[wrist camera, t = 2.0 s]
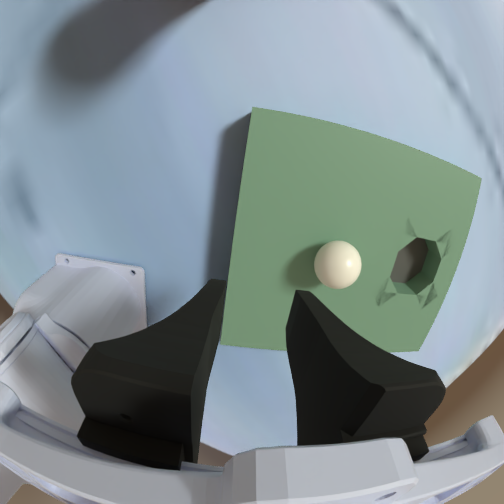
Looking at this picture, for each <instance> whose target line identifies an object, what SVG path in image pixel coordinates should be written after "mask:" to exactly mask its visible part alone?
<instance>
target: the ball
mask: <svg viewBox="0 0 504 504" xmlns="http://www.w3.org/2000/svg"><path fill="white" fill-rule="evenodd" d="M361 266H362V263H361V258H360V255H359V253H358V251H357V250H356V248H355V247H354V246H352V245H351V244H349V243H347V242H345V241H331V242H329V243H327V244H325V245H324V246H322V247H321V248H320V250H319V251H318V252H317V254H316V257H315V261H314V269H315V273H316V276H317V277H318V279H319V280H320V281H321V282H322V283H323V284H324V285H325V286H327V287H329V288H333V289H342V288H346V287H348V286H350V285H351V284H353V283H354V282H355V281H356V280H357V278H358V276H359V275H360V272H361Z"/></svg>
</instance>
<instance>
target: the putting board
mask: <svg viewBox="0 0 504 504" xmlns="http://www.w3.org/2000/svg"><path fill="white" fill-rule="evenodd" d="M481 179H482V178H480V177H478V176H476V175H474V174H472V173H470V172H468V171H466V170H464V169H462V168H459V167H457V166H455V165H453V164H451V163H449V162H446V161H444V160H442V159H439V158H437V157H435V156H432V155H430V154H427V153H425V152H422V151H420V150H417V149H415V148H412V147H409V146H407V145H404V144H401V143H398V142H396V141H393V140H390V139H387V138H384V137H381V136H378V135H375V134H371V133H368V132H365V131H361V130H358V129H354V128H351V127H347V126H344V125H340V124H336V123H332V122H328V121H324V120H320V119H315V118H311V117H306V116H301V115H296V114H291V113H286V112H281V111H275V110H269V109H263V108H256V107H252V113H251V119H250V126H249V132H248V139H247V145H246V152H245V158H244V165H243V172H242V179H241V186H240V193H239V200H238V207H237V214H236V222H235V229H234V236H233V244H232V252H231V259H230V267H229V275H228V283H227V291H226V299H225V308H224V316H223V325H222V333H221V342H220V344H221V345H230V346H239V347H248V348H259V349H271V350H284V351H287V348H286V329H285V328H286V324H287V321H288V317H289V313H290V309H291V306H292V302H293V298H294V294H295V290H304V291H310V292H311V293H313V294H314V295H315V296H316V297H317V298H318V299H319V300H320V301H321V302H322V303H323V304H324V305H325V306H326V307H327V308H328V309H329V310H330V311H331V312H332V313H334V314H335V315H336V316H337V317H338V318H339V319H340V320H341V321H342V322H344V323H345V324H346V325H347V326H349V327H350V328H351V329H352V330H354V331H355V332H356V333H358V334H359V335H360V336H362V337H363V338H365V339H366V340H368V341H369V342H371V343H372V344H374V345H376V346H377V347H379V348H381V349H383V350H385V351H387V352H410V351H419V349H420V347H421V346H422V344H423V342H424V340H425V338H426V336H427V334H428V332H429V330H430V328H431V326H432V324H433V322H434V320H435V318H436V316H437V314H438V312H439V310H440V308H441V305H442V303H443V301H444V299H445V296H446V294H447V292H448V289H449V287H450V284H451V282H452V279H453V277H454V274H455V271H456V269H457V266H458V263H459V260H460V258H461V255H462V252H463V249H464V246H465V243H466V239H467V236H468V233H469V229H470V226H471V222H472V219H473V215H474V211H475V207H476V203H477V198H478V194H479V189H480V184H481ZM331 241H345V242H347V243H349V244H351V245H352V246H354V247H355V248H356V250H357V251H358V253H359V255H360V258H361V263H362V266H361V272H360V275H359V276H358V278H357V280H356V281H355V282H354V283H353V284H351V285H350V286H348V287H346V288H342V289H333V288H329V287H327V286H325V285H324V284H323V283H322V282H321V281H320V280H319V279H318V277H317V276H316V273H315V269H314V261H315V257H316V254H317V252H318V251H319V250H320V248H321V247H322V246H324V245H325V244H327V243H329V242H331Z"/></svg>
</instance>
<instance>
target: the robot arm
mask: <svg viewBox="0 0 504 504" xmlns="http://www.w3.org/2000/svg"><path fill="white" fill-rule="evenodd" d="M67 259H68V260H69V262H68V261H67ZM55 260H56V265H55V266H54V267H52V268H51V269H50V270H49V271H48V272H46V273H45V274H44V275H43V276H41V277H40V278H39V279H38V280H37V281H35V282H34V283H33V284H32V285H31V286H30V287H28V288H27V289H26V290H25V291H24V292H23V293H22V294H21V296H20V297H19V299H18V301H17V303H16V305H15V308H14V311H13V315H12V316H11V317H10V318H8V319H7V320H6V321H5V322H4V323H3V324H2V325H1V326H0V504H6V503H7V502H8V501H9V500H10V499H11V497H12V496H13V495H14V494H15V493H16V491H17V490H18V489H19V488H20V487H21V485H22V484H32V485H34V486H35V487H37V488H38V489H40V490H42V491H43V492H45V493H47V494H49V495H51V496H52V497H54V498H56V499H58V500H59V501H61V502H63V503H65V504H443V503H445V502H447V501H449V500H451V499H453V498H455V497H457V496H458V495H460V494H462V493H464V492H466V491H467V490H469V489H471V488H473V487H474V486H475V485H477V484H478V483H480V482H481V481H483V480H484V479H485V478H487V477H488V476H489V475H491V474H492V473H493V472H494V471H496V470H497V469H498V468H499V467H500V466H502V465H503V464H504V434H503V432H502V430H501V429H500V427H499V425H498V423H497V422H496V420H495V418H494V417H493V415H491V416H489V417H487V418H484V419H482V420H480V421H478V422H476V423H475V424H473V425H472V426H471V427H470V428H469V429H468V430H467V431H466V433H465V434H464V435H462V436H460V437H457V438H454V439H451V440H449V441H446V442H443V443H440V444H437V445H434V446H431V447H427V444H426V442H425V439H424V437H423V435H424V434H425V433H426V427H425V425H424V423H425V422H426V421H427V419H428V418H429V417H430V416H431V415H432V414H433V412H434V411H435V410H436V409H437V408H438V406H439V405H440V403H441V402H442V400H443V398H444V395H445V391H446V387H445V386H444V384H443V382H442V381H441V379H440V377H439V376H438V374H437V372H436V371H435V370H432V369H429V368H426V367H423V366H420V365H417V364H414V363H411V362H408V361H406V360H404V359H401V358H399V357H397V356H395V355H393V354H390V353H388V352H387V351H385V350H383V349H381V348H379V347H377V346H376V345H374V344H372V343H371V342H369V341H368V340H366V339H365V338H363V337H362V336H360V335H359V334H358V333H356V332H355V331H354V330H352V329H351V328H350V327H349V326H347V325H346V324H345V323H344V322H342V321H341V320H340V319H339V318H338V317H337V316H336V315H335V314H334V313H332V312H331V311H330V310H329V309H328V308H327V307H326V306H325V305H324V304H323V303H322V302H321V301H320V300H319V299H318V298H317V297H316V296H315V295H314V294H313V293H311V292H310V291H304V290H295V294H294V298H293V302H292V306H291V309H290V313H289V317H288V321H287V324H286V328H285V329H286V348H287V353H288V359H289V364H290V369H291V374H292V379H293V384H294V389H295V396H296V411H297V446H276V447H263V448H255V449H252V450H249V451H245V452H241V453H238V454H236V455H235V456H233V457H232V458H231V459H230V460H229V461H228V462H227V463H226V464H225V465H224V467H218V466H210V465H202V464H197V461H198V453H199V444H200V436H201V428H202V420H203V412H204V405H205V397H206V390H207V385H208V381H209V377H210V373H211V369H212V365H213V361H214V358H215V354H216V350H217V346H218V342H219V337H220V329H221V322H222V314H223V305H224V296H225V288H226V281H224V280H217V279H211V280H209V281H208V282H207V284H206V285H205V286H204V287H203V288H202V289H201V290H200V291H199V292H198V293H197V294H196V295H195V296H194V297H193V298H192V299H191V300H190V301H188V302H187V303H186V304H185V305H184V306H182V307H181V308H180V309H179V310H177V311H176V312H174V313H173V314H172V315H170V316H169V317H167V318H165V319H164V320H162V321H160V322H158V323H156V324H154V325H152V326H150V327H147V313H146V294H145V271H144V269H143V268H142V267H138V266H132V265H126V264H120V263H114V262H107V261H102V260H96V259H90V258H84V257H78V256H73V255H67V254H62V253H58V254H57V255H56V256H55ZM131 270H134V271H135V274H134V273H132V271H131Z"/></svg>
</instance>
